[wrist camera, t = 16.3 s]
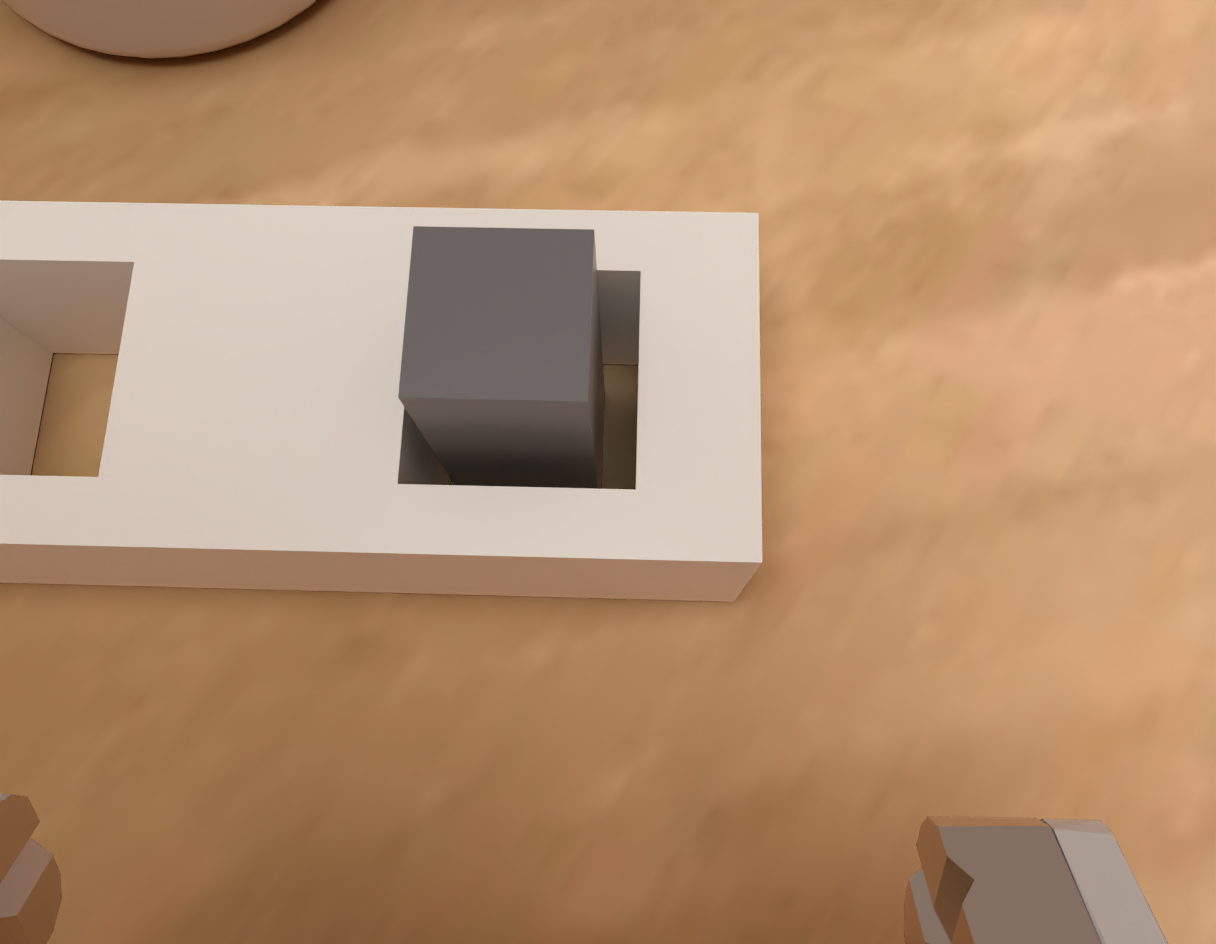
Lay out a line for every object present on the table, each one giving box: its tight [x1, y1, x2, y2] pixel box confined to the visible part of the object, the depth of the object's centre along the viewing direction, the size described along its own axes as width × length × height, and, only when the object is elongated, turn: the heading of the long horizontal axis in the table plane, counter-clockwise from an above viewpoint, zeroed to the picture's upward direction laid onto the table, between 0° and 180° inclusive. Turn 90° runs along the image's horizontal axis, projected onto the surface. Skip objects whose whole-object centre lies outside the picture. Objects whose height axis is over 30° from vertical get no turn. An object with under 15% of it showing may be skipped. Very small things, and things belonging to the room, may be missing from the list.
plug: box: [398, 226, 605, 489], centre depth 20 cm, size 3×3×8 cm
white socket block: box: [0, 201, 762, 602], centre depth 22 cm, size 19×8×5 cm, turn 88°
